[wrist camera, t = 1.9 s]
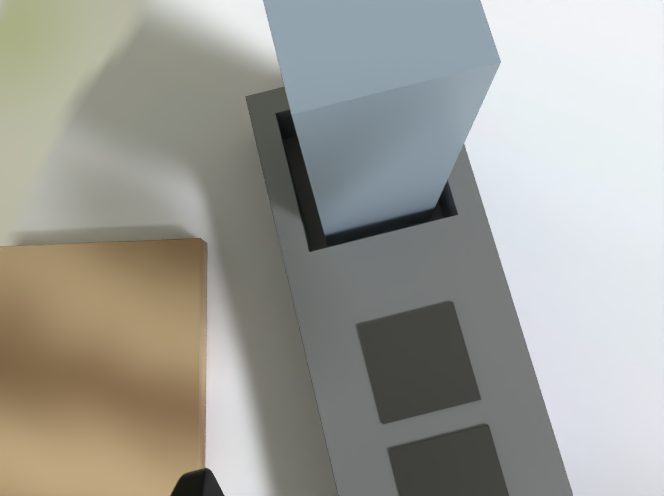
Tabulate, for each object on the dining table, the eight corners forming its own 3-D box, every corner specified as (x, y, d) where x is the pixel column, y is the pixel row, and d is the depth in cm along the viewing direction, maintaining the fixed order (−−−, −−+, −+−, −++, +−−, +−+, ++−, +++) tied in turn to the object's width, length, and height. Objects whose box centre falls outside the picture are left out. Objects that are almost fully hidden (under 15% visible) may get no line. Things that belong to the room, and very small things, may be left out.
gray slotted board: (566, 552, 21) (608, 589, 17) (370, 601, 21) (372, 648, 17) (425, 87, 24) (436, 40, 21) (259, 129, 24) (242, 88, 21)
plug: (429, 219, 23) (500, 61, 11) (327, 245, 23) (291, 114, 11) (401, 124, 24) (441, -117, 12) (303, 149, 24) (245, -68, 12)
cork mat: (204, 545, 21) (196, 553, 20) (-95, 551, 22) (-116, 559, 21) (207, 243, 24) (200, 238, 23) (-65, 254, 24) (-83, 250, 23)
